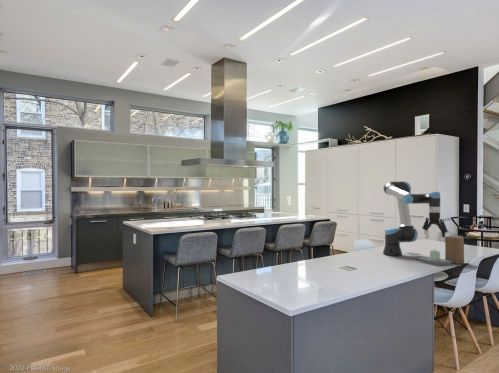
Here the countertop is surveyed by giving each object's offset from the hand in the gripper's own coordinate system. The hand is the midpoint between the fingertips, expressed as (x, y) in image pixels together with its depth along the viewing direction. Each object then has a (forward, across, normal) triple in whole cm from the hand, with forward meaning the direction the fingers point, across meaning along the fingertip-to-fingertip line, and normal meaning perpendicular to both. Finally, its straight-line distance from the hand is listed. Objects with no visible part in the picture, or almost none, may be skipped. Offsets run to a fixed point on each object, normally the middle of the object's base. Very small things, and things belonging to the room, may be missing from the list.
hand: (434, 239), depth 260 cm
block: (+18, +4, +17) cm, 25 cm away
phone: (+18, -15, +4) cm, 24 cm away
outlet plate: (+18, -1, +2) cm, 18 cm away
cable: (+18, -17, +12) cm, 28 cm away
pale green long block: (+18, +1, 0) cm, 18 cm away
